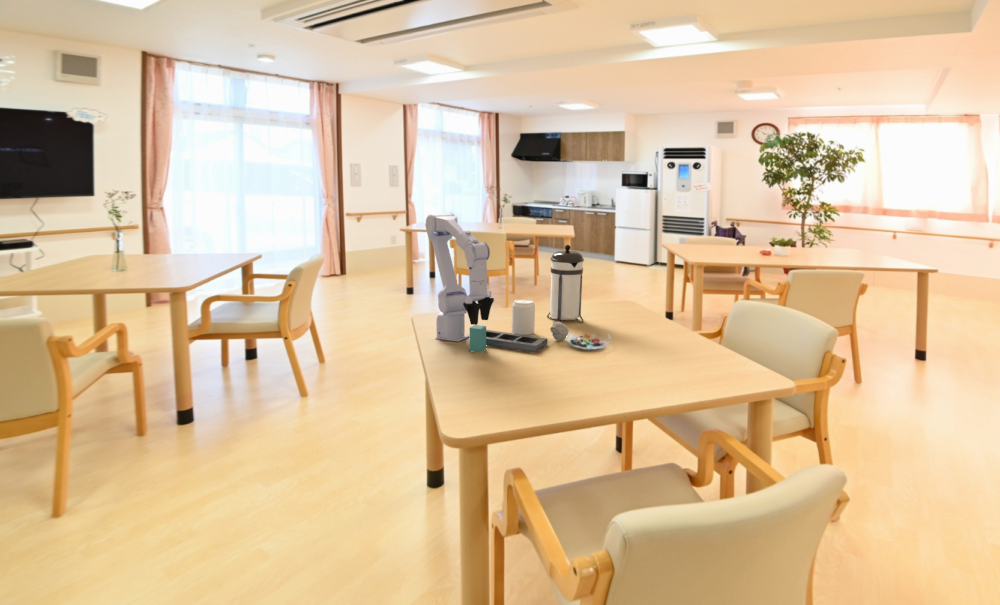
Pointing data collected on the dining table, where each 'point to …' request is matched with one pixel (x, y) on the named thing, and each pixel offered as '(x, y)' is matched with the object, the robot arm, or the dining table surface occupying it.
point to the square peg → (477, 338)
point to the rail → (515, 341)
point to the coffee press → (566, 285)
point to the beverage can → (523, 317)
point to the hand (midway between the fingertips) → (479, 322)
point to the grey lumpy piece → (559, 331)
